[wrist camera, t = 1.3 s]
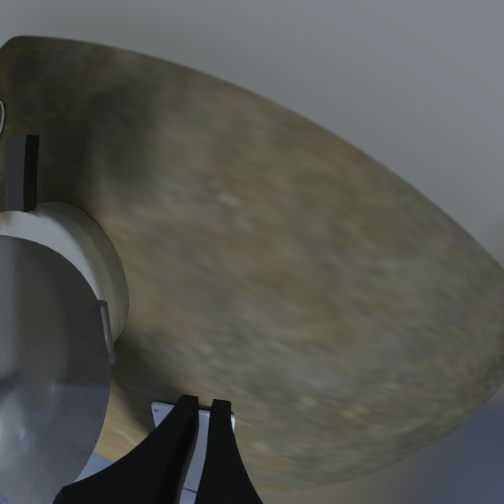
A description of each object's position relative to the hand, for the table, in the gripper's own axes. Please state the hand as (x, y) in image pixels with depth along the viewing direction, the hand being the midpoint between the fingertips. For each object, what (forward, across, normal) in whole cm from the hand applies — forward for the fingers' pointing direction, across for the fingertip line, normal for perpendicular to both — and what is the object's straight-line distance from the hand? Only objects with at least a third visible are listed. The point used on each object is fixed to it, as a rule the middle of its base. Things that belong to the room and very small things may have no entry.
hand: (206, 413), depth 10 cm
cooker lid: (-4, +9, 0) cm, 10 cm away
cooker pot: (+10, +15, -2) cm, 18 cm away
